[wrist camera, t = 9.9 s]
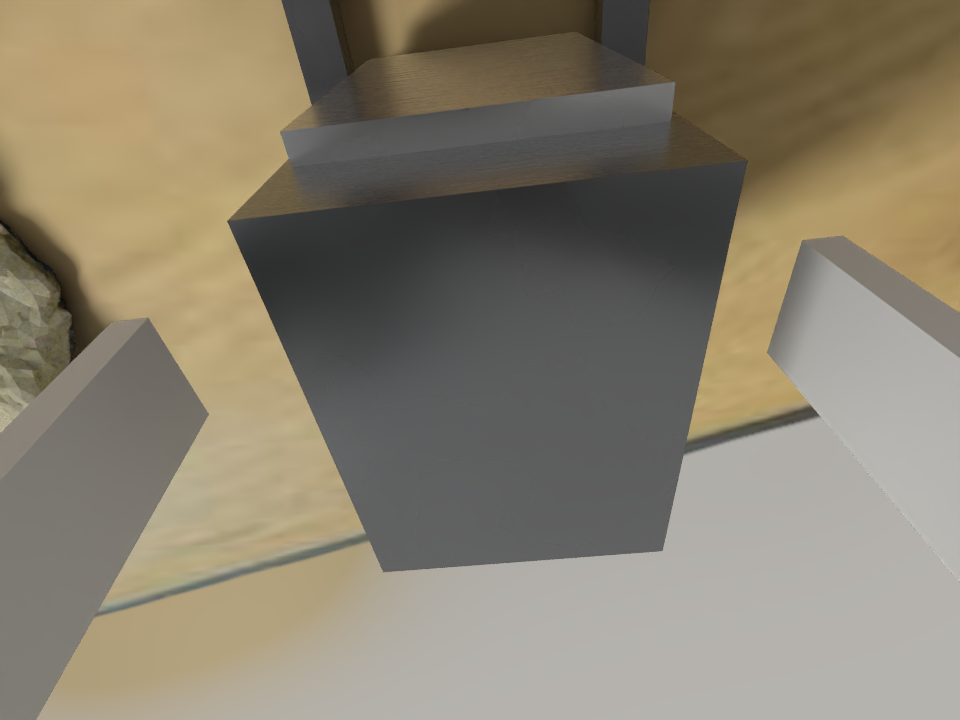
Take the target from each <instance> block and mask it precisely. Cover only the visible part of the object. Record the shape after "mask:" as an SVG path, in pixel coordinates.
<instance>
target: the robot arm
mask: <svg viewBox="0 0 960 720" xmlns="http://www.w3.org/2000/svg"><path fill="white" fill-rule="evenodd" d="M767 353H768V354H769V355H770V357H771V358H772V359H773V360H774V361H775V363H776V364H777V365H778V366H779V367H780V369H781V370H782V371H783V372H784V373H785V375H786V376H787V377H788V378H789V379H790V381H791V382H792V383H793V384H794V385H795V387H796V388H797V389H798V390H799V391H800V392H801V394H802V395H803V396H804V397H805V398H806V400H807V401H808V402H809V403H810V404H811V406H812V407H813V408H814V409H815V410H816V412H817V413H818V414H819V415H820V416H821V418H822V419H823V420H824V421H825V422H826V423H827V425H828V426H829V427H830V428H831V429H832V431H833V432H834V433H835V434H836V435H837V437H838V438H839V439H840V440H841V441H842V443H843V444H844V445H845V446H846V447H847V449H848V450H849V451H850V452H851V453H852V454H853V456H854V457H855V458H856V459H857V460H858V462H859V463H860V464H861V465H862V466H863V468H864V469H865V470H866V471H867V472H868V474H869V475H870V476H871V477H872V478H873V479H874V481H875V482H876V483H877V484H878V486H879V487H880V488H881V489H882V490H883V492H884V493H885V494H886V495H887V496H888V497H889V499H890V500H891V501H892V502H893V503H894V505H895V506H896V507H897V508H898V509H899V511H900V512H901V513H902V514H903V515H904V517H905V518H906V519H907V520H908V521H909V523H910V524H911V525H912V526H913V527H914V528H915V530H916V531H917V532H918V533H919V534H920V536H921V537H922V538H923V539H924V540H925V542H926V543H927V544H928V545H929V546H930V548H931V549H932V550H933V551H934V552H935V553H936V555H937V556H938V557H939V558H940V560H941V561H942V562H943V563H944V564H945V565H946V566H947V568H948V569H949V570H950V571H951V573H952V574H953V575H954V576H955V577H956V579H957V580H958V581H959V582H960V313H959V312H958V311H956V310H955V309H953V308H952V307H950V306H949V305H947V304H946V303H944V302H942V301H941V300H939V299H938V298H936V297H935V296H933V295H932V294H930V293H929V292H927V291H926V290H924V289H923V288H921V287H920V286H918V285H917V284H915V283H914V282H912V281H911V280H909V279H908V278H906V277H905V276H903V275H902V274H900V273H899V272H897V271H895V270H894V269H892V268H891V267H889V266H888V265H886V264H885V263H883V262H882V261H880V260H879V259H877V258H876V257H874V256H873V255H871V254H870V253H868V252H867V251H865V250H864V249H862V248H861V247H859V246H858V245H856V244H855V243H853V242H852V241H850V240H848V239H847V238H845V237H844V236H835V237H826V238H818V239H810V240H802V243H801V246H800V250H799V253H798V256H797V259H796V262H795V266H794V269H793V272H792V275H791V278H790V281H789V285H788V288H787V291H786V294H785V297H784V300H783V304H782V307H781V310H780V313H779V316H778V320H777V323H776V326H775V329H774V332H773V335H772V339H771V342H770V345H769V348H768V351H767ZM208 415H209V414H208V412H207V411H206V409H205V407H204V406H203V404H202V403H201V401H200V399H199V398H198V396H197V395H196V393H195V392H194V390H193V388H192V387H191V385H190V384H189V382H188V380H187V379H186V377H185V376H184V374H183V372H182V371H181V369H180V368H179V366H178V364H177V363H176V361H175V360H174V358H173V356H172V355H171V353H170V352H169V350H168V348H167V347H166V345H165V344H164V342H163V340H162V339H161V337H160V336H159V334H158V333H157V331H156V329H155V328H154V326H153V325H152V323H151V321H150V320H149V318H141V319H132V320H124V321H115V322H111V323H110V324H109V325H108V326H107V327H106V328H105V329H104V330H103V331H102V332H101V333H100V334H99V335H98V336H97V337H96V338H95V339H94V340H93V341H92V342H91V343H90V344H89V345H88V346H87V347H86V348H85V349H84V350H83V351H82V352H81V353H80V354H79V355H78V356H77V357H76V358H75V359H74V360H73V361H72V362H71V363H70V364H69V365H68V366H67V367H66V368H65V369H64V370H63V371H62V372H61V373H60V374H59V375H58V376H57V377H56V378H55V379H54V380H53V381H52V382H51V383H50V384H49V385H48V386H47V387H46V388H45V389H44V390H43V391H42V392H41V393H40V394H39V395H38V396H37V397H36V398H35V399H34V400H33V401H32V402H31V403H30V404H29V405H28V406H27V407H26V408H25V409H24V410H23V411H22V412H21V413H20V414H19V415H18V416H17V417H16V418H15V419H14V420H13V421H12V422H11V423H10V424H9V425H8V426H7V427H6V428H5V429H4V430H3V431H2V432H1V433H0V720H36V719H37V717H38V715H39V714H40V712H41V710H42V708H43V707H44V705H45V703H46V701H47V700H48V697H49V696H50V694H51V692H52V691H53V689H54V687H55V685H56V684H57V682H58V680H59V678H60V677H61V675H62V673H63V671H64V670H65V668H66V666H67V664H68V662H69V661H70V659H71V657H72V655H73V654H74V652H75V650H76V648H77V647H78V645H79V643H80V641H81V639H82V638H83V636H84V634H85V632H86V631H87V629H88V627H89V625H90V624H91V622H92V620H93V618H94V616H95V615H96V613H97V611H98V609H99V608H100V606H101V604H102V602H103V601H104V599H105V597H106V595H107V593H108V592H109V590H110V588H111V586H112V585H113V583H114V581H115V579H116V578H117V576H118V574H119V572H120V570H121V569H122V567H123V565H124V563H125V562H126V560H127V558H128V556H129V555H130V553H131V551H132V549H133V547H134V546H135V544H136V542H137V540H138V539H139V537H140V535H141V533H142V532H143V530H144V528H145V526H146V524H147V523H148V521H149V519H150V517H151V516H152V514H153V512H154V510H155V509H156V507H157V505H158V503H159V502H160V500H161V498H162V496H163V494H164V493H165V491H166V489H167V487H168V486H169V484H170V482H171V480H172V479H173V477H174V475H175V473H176V471H177V470H178V468H179V466H180V464H181V463H182V461H183V459H184V457H185V456H186V454H187V452H188V450H189V448H190V447H191V445H192V443H193V441H194V440H195V438H196V436H197V434H198V433H199V431H200V429H201V427H202V425H203V424H204V422H205V420H206V418H207V417H208Z"/></svg>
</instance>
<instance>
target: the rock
mask: <svg viewBox="0 0 960 720" xmlns="http://www.w3.org/2000/svg"><path fill="white" fill-rule="evenodd" d="M10 230H11V229H10V228H9V227H8V225H7V226H5V225H4V224H3V223H1V222H0V413H1V414H3V415H5V416H6V417H8V418H10V419H12V420H14V419H15V418H16V417H17V416H18V415H19V414H20V413H21V412H22V411H23V410H24V409H25V408H26V407H27V406H28V405H29V404H30V403H31V402H32V401H33V400H34V399H35V398H36V397H37V396H38V395H39V394H40V393H41V392H42V391H43V390H44V389H45V388H46V387H47V386H48V385H49V384H50V383H51V382H52V381H53V380H54V379H55V378H56V377H57V376H58V375H59V374H60V373H61V372H62V371H63V370H64V369H65V368H66V367H67V366H68V365H69V364H70V361H71V357H72V354H73V352H74V349H75V344H74V342H72V337H73V335H74V333H75V332H74V331H72V330H71V329H70V326H71V325H72V314H71V313H69V312H68V311H67V310H66V309H67V307H66V305H65V302H64V300H62V299H61V294H60V292H61V289H62V288H61V287H60V282H59V280H58V279H57V278H56V275H55V274H54V273H52V269H51V268H49V267H48V266H46V265H45V264H44V263H41V262H40V261H39V260H38V259H37V258H36V257H35V256H34V255H33V254H32V253H31V252H30V251H28V249H27V247H26V246H25V245H24V243H23V242H22V241H21V239H19V238H18V237H17V236H18V235H16V234H12V231H10Z"/></svg>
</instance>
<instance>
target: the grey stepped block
mask: <svg viewBox="0 0 960 720" xmlns="http://www.w3.org/2000/svg"><path fill="white" fill-rule="evenodd" d="M675 83H676V82H675V81H673V80H671V79H669V78H667V77H665V76H663V75H661V74H659V73H657V72H655V71H653V70H651V69H649V68H647V67H645V66H643V65H641V64H639V63H637V62H635V61H633V60H631V59H629V58H627V57H625V56H623V55H621V54H619V53H617V52H615V51H613V50H611V49H609V48H607V47H605V46H603V45H601V44H599V43H597V42H595V41H593V40H591V39H589V38H587V37H585V36H583V35H581V34H579V33H577V32H569V33H562V34H554V35H547V36H539V37H532V38H524V39H516V40H509V41H501V42H494V43H486V44H479V45H471V46H464V47H456V48H448V49H441V50H433V51H426V52H418V53H411V54H403V55H396V56H388V57H380V58H373V59H369V60H367V61H366V62H365V63H364V64H362V65H361V66H360V67H359V68H358V69H356V70H355V71H354V72H353V73H351V74H350V75H349V76H348V77H346V78H345V79H344V80H343V81H342V82H340V83H339V84H338V85H337V86H335V87H334V88H333V89H332V90H331V91H329V92H328V93H327V94H326V95H324V96H323V97H322V98H321V99H319V100H318V101H317V102H316V103H315V104H313V105H312V106H311V107H310V108H308V109H307V110H306V111H305V112H304V113H302V114H301V115H300V116H299V117H297V118H296V119H295V120H294V121H292V122H291V123H290V124H289V125H288V126H286V127H285V128H284V129H283V130H281V131H280V133H281V136H282V139H283V142H284V145H285V148H286V151H287V154H288V157H289V159H288V160H287V161H286V162H285V163H284V164H283V165H282V166H281V167H280V168H279V169H278V170H277V171H276V172H275V173H274V174H273V175H272V176H271V177H270V178H269V179H268V180H267V181H266V182H265V183H264V184H263V185H262V187H261V188H260V189H259V190H258V191H257V192H256V193H255V194H254V195H253V196H252V197H251V198H250V199H249V200H248V201H247V202H246V203H245V204H244V205H243V206H242V207H241V208H240V209H239V210H238V211H237V212H236V213H235V214H234V215H233V216H232V217H231V218H230V219H229V220H228V221H227V222H228V224H229V226H230V228H231V231H232V233H233V235H234V237H235V240H236V242H237V244H238V246H239V249H240V251H241V253H242V255H243V258H244V260H245V262H246V264H247V267H248V269H249V271H250V273H251V276H252V278H253V280H254V282H255V285H256V287H257V289H258V291H259V293H260V296H261V298H262V300H263V302H264V305H265V307H266V309H267V311H268V314H269V316H270V318H271V320H272V323H273V325H274V327H275V329H276V332H277V334H278V336H279V338H280V341H281V343H282V345H283V347H284V350H285V352H286V354H287V356H288V359H289V361H290V363H291V365H292V368H293V370H294V372H295V374H296V377H297V379H298V381H299V383H300V386H301V388H302V390H303V392H304V395H305V397H306V399H307V401H308V404H309V406H310V408H311V410H312V413H313V415H314V417H315V419H316V422H317V424H318V426H319V428H320V431H321V433H322V435H323V437H324V440H325V442H326V444H327V446H328V449H329V451H330V453H331V455H332V458H333V460H334V462H335V464H336V467H337V469H338V471H339V473H340V476H341V478H342V480H343V482H344V485H345V487H346V489H347V491H348V494H349V496H350V498H351V500H352V503H353V505H354V507H355V509H356V512H357V514H358V516H359V518H360V521H361V523H362V525H363V527H364V530H365V532H366V534H367V536H368V539H369V541H370V543H371V545H372V547H373V550H374V552H375V554H376V557H377V559H378V561H379V563H380V566H381V568H382V570H383V572H392V571H404V570H418V569H431V568H445V567H457V566H471V565H483V564H497V563H511V562H522V561H523V562H524V561H537V560H550V559H563V558H577V557H590V556H603V555H616V554H628V553H629V554H630V553H642V552H656V551H662V550H663V546H664V542H665V537H666V533H667V527H668V523H669V518H670V514H671V509H672V505H673V500H674V496H675V491H676V487H677V482H678V477H679V473H680V468H681V464H682V459H683V455H684V450H685V445H686V441H687V436H688V432H689V427H690V422H691V418H692V413H693V409H694V404H695V399H696V395H697V390H698V386H699V381H700V376H701V372H702V367H703V363H704V358H705V353H706V349H707V344H708V340H709V335H710V331H711V326H712V321H713V317H714V312H715V308H716V303H717V298H718V294H719V289H720V285H721V280H722V275H723V271H724V266H725V262H726V257H727V252H728V248H729V243H730V239H731V234H732V230H733V225H734V220H735V216H736V211H737V207H738V202H739V197H740V193H741V188H742V184H743V179H744V174H745V170H746V165H747V161H748V160H746V159H745V158H743V157H742V156H740V155H738V154H737V153H735V152H734V151H732V150H731V149H729V148H728V147H726V146H725V145H723V144H722V143H720V142H719V141H717V140H716V139H714V138H713V137H711V136H709V135H708V134H706V133H705V132H703V131H702V130H700V129H699V128H697V127H696V126H694V125H693V124H691V123H690V122H688V121H687V120H685V119H684V118H682V117H680V116H679V115H677V114H676V113H674V112H673V111H672V109H673V100H674V92H675Z"/></svg>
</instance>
